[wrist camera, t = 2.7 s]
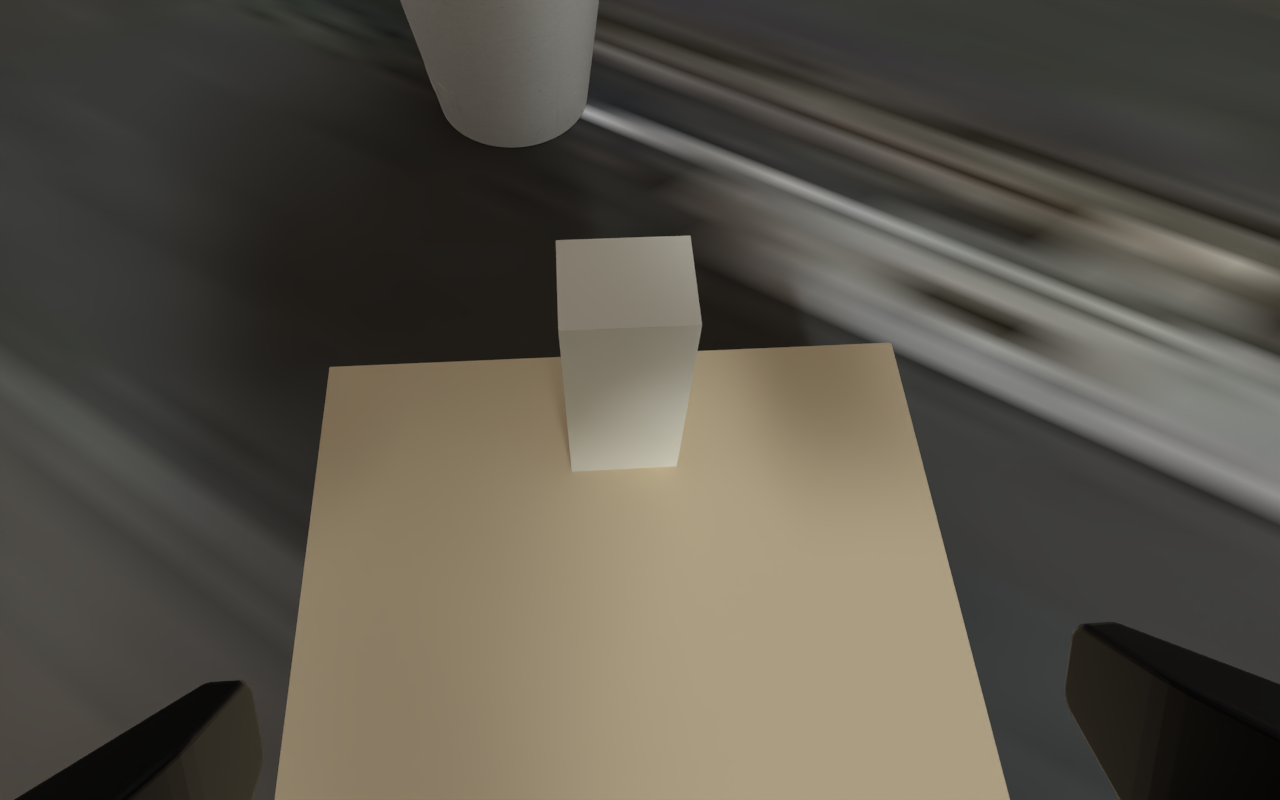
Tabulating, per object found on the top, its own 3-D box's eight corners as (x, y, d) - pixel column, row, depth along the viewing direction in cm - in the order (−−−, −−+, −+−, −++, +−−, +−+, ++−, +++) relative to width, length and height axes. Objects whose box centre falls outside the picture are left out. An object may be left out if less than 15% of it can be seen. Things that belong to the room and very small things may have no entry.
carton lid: (1020, 892, 16) (1252, 915, 10) (265, 958, 15) (53, 1027, 9) (884, 354, 22) (982, 178, 16) (336, 378, 21) (233, 201, 15)
